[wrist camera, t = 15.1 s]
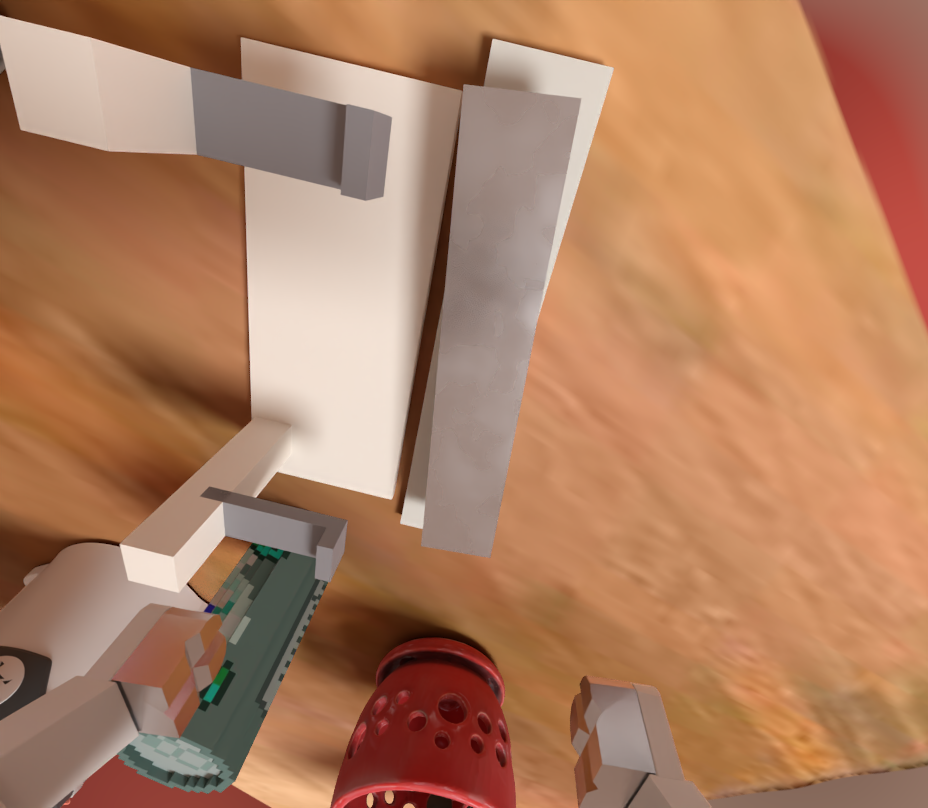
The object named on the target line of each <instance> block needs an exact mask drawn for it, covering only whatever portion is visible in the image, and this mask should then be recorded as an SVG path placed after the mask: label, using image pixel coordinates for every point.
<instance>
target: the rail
mask: <svg viewBox="0 0 928 808" xmlns="http://www.w3.org/2000/svg"><path fill="white" fill-rule="evenodd" d="M581 99H582V98H574V97H566V96H557V95H549V94H541V93H532V92H524V91H516V90H507V89H499V88H491V87H482V86H474V85H466V84H464V85H463V96H462V107H461V118H460V129H459V140H458V151H457V161H456V172H455V183H454V194H453V205H452V216H451V227H450V238H449V249H448V260H447V271H446V281H445V292H444V303H443V314H442V325H441V336H440V347H439V358H438V369H437V380H436V391H435V402H434V412H433V423H432V434H431V445H430V456H429V467H428V478H427V489H426V500H425V511H424V522H423V533H422V543H421V546H424V547H430V548H436V549H442V550H447V551H453V552H459V553H465V554H471V555H476V556H482V557H488V558H490V556H491V551H492V546H493V541H494V536H495V531H496V526H497V521H498V516H499V511H500V506H501V501H502V496H503V491H504V486H505V481H506V476H507V471H508V466H509V461H510V456H511V451H512V446H513V441H514V436H515V431H516V426H517V421H518V416H519V411H520V406H521V401H522V396H523V390H524V385H525V380H526V375H527V370H528V365H529V360H530V355H531V350H532V345H533V340H534V335H535V330H536V325H537V320H538V315H539V310H540V305H541V300H542V295H543V290H544V285H545V280H546V275H547V270H548V265H549V260H550V255H551V250H552V245H553V240H554V235H555V230H556V225H557V220H558V215H559V210H560V205H561V200H562V195H563V190H564V184H565V179H566V174H567V169H568V164H569V159H570V154H571V149H572V144H573V139H574V134H575V129H576V124H577V119H578V114H579V109H580V104H581Z"/></svg>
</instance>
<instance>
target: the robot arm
mask: <svg viewBox="0 0 928 808" xmlns="http://www.w3.org/2000/svg"><path fill="white" fill-rule="evenodd" d="M23 582H24V584H25V587H24V588H23V589H22V590H21V591H20V592H19V593H18V594H17V595H16V596H15V597H14V598H13V599H12V600H11V601H10V602H9V603H8V604H7V605H6V606H5V607H4V608H3V609H2V610H1V611H0V808H60V807H61V806H62V805H66V804H67V805H68V804H69V803H70V800H69V798H70V797H73V796H74V795H75V793H76V792H77V791H78V790H79V789H80V788H81V787H82V785H83V783H84V782H85V781H86V779H88V777H90V776H91V775H92V774H93V773H94V772H96V770H98V769H99V768H100V767H102V766H103V765H104V764H105V763H106V762H108V761H109V760H110V759H111V758H112V757H114V756H115V755H117V753H118V752H120V751H121V750H122V749H123V748H124V747H126V746H127V745H128V744H129V743H130V742H132V741H133V740H134V739H135V738H136V737H138V736H139V733H146V734H153V735H160V736H168V737H175V738H180V737H181V735H182V733H183V732H184V730H185V728H186V727H187V725H188V723H189V722H190V720H191V718H192V716H193V715H194V713H195V711H196V710H197V708H198V706H199V705H200V697H199V692H200V691H201V690H203V689H204V688H205V687H207V686H208V685H210V684H211V683H212V682H213V681H214V679H215V677H216V675H217V674H218V672H219V670H220V668H221V665H222V663H223V660H224V657H225V654H226V645H227V644H226V638H225V636H224V635H223V634H222V633H221V632H219V631H218V630H219V629H220V627H221V626H222V621H221V617H220V615H218V614H212V613H206V612H203V611H204V610H205V609H206V607H207V606H208V604H207V603H205V602H203V601H202V600H201V599H200V598H199V597H198V596H197V595H196V594H195V593H194V592H193V591H192V590H191V589H190V588H189V587H188V586H187V585H185V586H184V587H183V589H182V590H181V591H180V592H179V593H177V592H173V591H169V590H165V589H161V588H157V587H153V586H149V585H145V584H141V583H137V582H133V581H129V580H128V577H127V573H126V569H125V565H124V560H123V556H122V552H121V548H120V547H118V546H114V545H109V544H103V543H80V544H75V545H71V546H69V547H67V548H65V549H63V550H62V551H61V552H60V553H59V554H58V555H57V556H56V557H55V559H54V560H53V561H52V562H51V563H50V564H46V565H42V566H38V567H36V568H34V569H32V570H31V571H30V572H29V573H28V574H27V575H26V576H25V577H24V579H23ZM580 689H581V693H579V694H577V695H575V697H574V700H573V703H572V706H571V715H570V731H571V742H572V745H573V747H574V748H575V750H576V751H577V753H578V754H579V756H580V757H579V760H578V762H577V764H576V766H575V768H574V771H575V780H576V789H577V798H578V807H579V808H712V807H711V805H710V804H709V803H708V801H707V800H706V799H705V797H704V796H703V795H702V793H701V792H700V791H699V790H698V788H697V787H696V786H695V784H694V783H693V782H692V781H688V780H685V778H684V775H683V771H682V768H681V765H680V761H679V758H678V754H677V751H676V747H675V744H674V740H673V737H672V733H671V730H670V727H669V723H668V720H667V716H666V713H665V709H664V706H663V702H662V699H661V696H660V693H659V692H658V690H657V689H656V688H655V687H654V686H650V685H643V684H637V683H631V682H627V681H620V680H613V679H607V678H600V677H593V676H584V677H583V678H582V680H581V682H580ZM138 732H139V733H138Z"/></svg>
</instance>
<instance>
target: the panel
mask: <svg viewBox="0 0 928 808" xmlns="http://www.w3.org/2000/svg"><path fill="white" fill-rule="evenodd" d="M613 70H614V68H613V67H608V66H604V65H600V64H596V63H592V62H588V61H584V60H580V59H575V58H571V57H567V56H563V55H559V54H555V53H551V52H546V51H542V50H538V49H534V48H530V47H526V46H522V45H518V44H513V43H509V42H505V41H501V40H497V39H493V40H492V45H491V50H490V55H489V61H488V66H487V71H486V76H485V82H484V87H491V88H499V89H507V90H516V91H524V92H532V93H541V94H549V95H557V96H566V97H574V98H582V99H581V104H580V109H579V114H578V119H577V124H576V129H575V134H574V139H573V144H572V149H571V154H570V159H569V164H568V169H567V174H566V179H565V184H564V190H563V195H562V200H561V205H560V210H559V215H558V220H557V225H556V230H555V235H554V240H553V245H552V250H551V255H550V260H549V265H548V270H547V275H546V280H545V285H544V290H543V295H542V300H541V305H540V310H541V307H542V303H543V300H544V297H545V294H546V290H547V287H548V284H549V280H550V277H551V274H552V271H553V267H554V264H555V261H556V257H557V254H558V251H559V248H560V244H561V241H562V238H563V234H564V231H565V228H566V224H567V221H568V218H569V215H570V211H571V208H572V205H573V201H574V198H575V195H576V192H577V188H578V185H579V182H580V178H581V175H582V172H583V169H584V165H585V162H586V159H587V155H588V152H589V149H590V146H591V142H592V139H593V136H594V132H595V129H596V126H597V122H598V119H599V116H600V113H601V109H602V106H603V103H604V99H605V96H606V93H607V90H608V86H609V83H610V80H611V76H612V73H613ZM443 303H444V297H443V302H442V307H441V313H440V318H439V323H438V328H437V334H436V339H435V344H434V349H433V355H432V360H431V365H430V370H429V375H428V381H427V386H426V391H425V396H424V402H423V407H422V412H421V417H420V423H419V428H418V433H417V438H416V444H415V449H414V454H413V459H412V465H411V470H410V475H409V480H408V486H407V491H406V496H405V501H404V507H403V512H402V517H401V522H400V524H404V525H408V526H413V527H417V528H421V529H423V522H424V511H425V500H426V489H427V478H428V467H429V456H430V445H431V434H432V423H433V412H434V402H435V391H436V380H437V369H438V358H439V347H440V336H441V325H442V314H443ZM540 310H539V313H540ZM538 317H539V315H538Z"/></svg>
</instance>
